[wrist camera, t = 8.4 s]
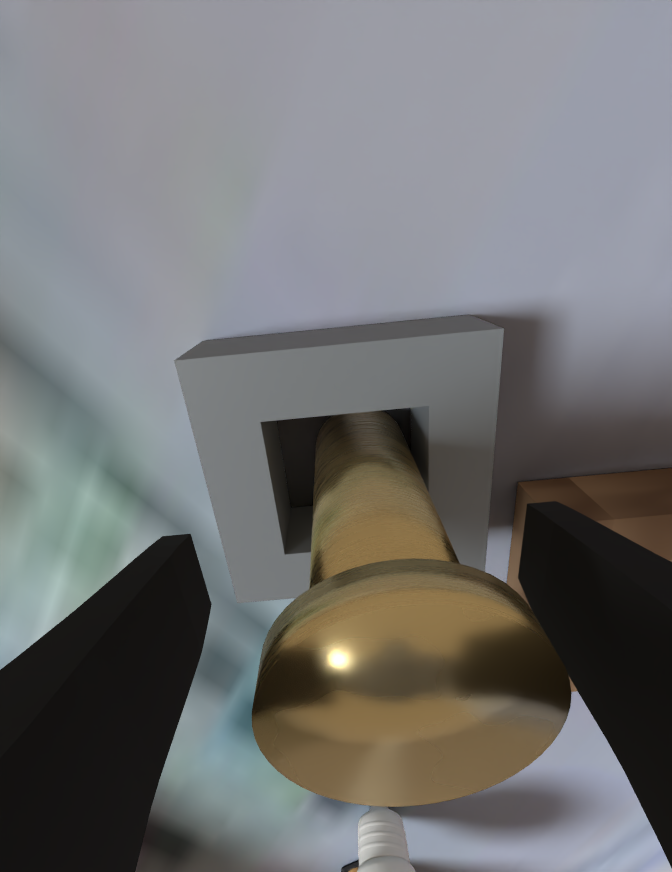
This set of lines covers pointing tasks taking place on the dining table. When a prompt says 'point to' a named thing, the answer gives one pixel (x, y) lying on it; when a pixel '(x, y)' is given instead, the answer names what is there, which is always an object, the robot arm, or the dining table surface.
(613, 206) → the dining table surface
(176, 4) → the dining table surface
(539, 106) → the dining table surface
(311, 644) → the pin
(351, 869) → the ammunition clip
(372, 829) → the lightbulb
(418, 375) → the socket block
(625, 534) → the brown wooden square frame
